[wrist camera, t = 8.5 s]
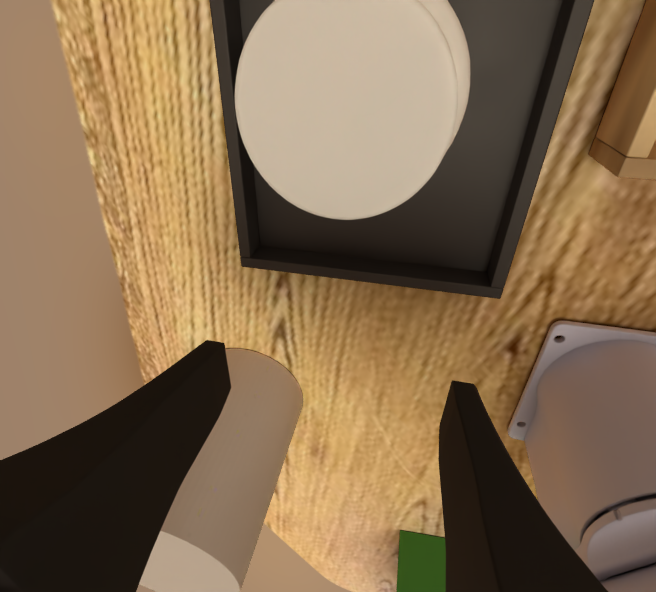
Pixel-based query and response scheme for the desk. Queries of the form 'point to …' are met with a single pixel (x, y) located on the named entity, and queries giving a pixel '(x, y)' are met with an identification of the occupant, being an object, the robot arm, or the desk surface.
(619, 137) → the wooden frame
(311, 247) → the tray
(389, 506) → the desk surface
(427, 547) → the hardback book
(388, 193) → the pill bottle
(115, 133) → the desk surface
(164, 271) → the desk surface
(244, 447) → the off-white cylinder
